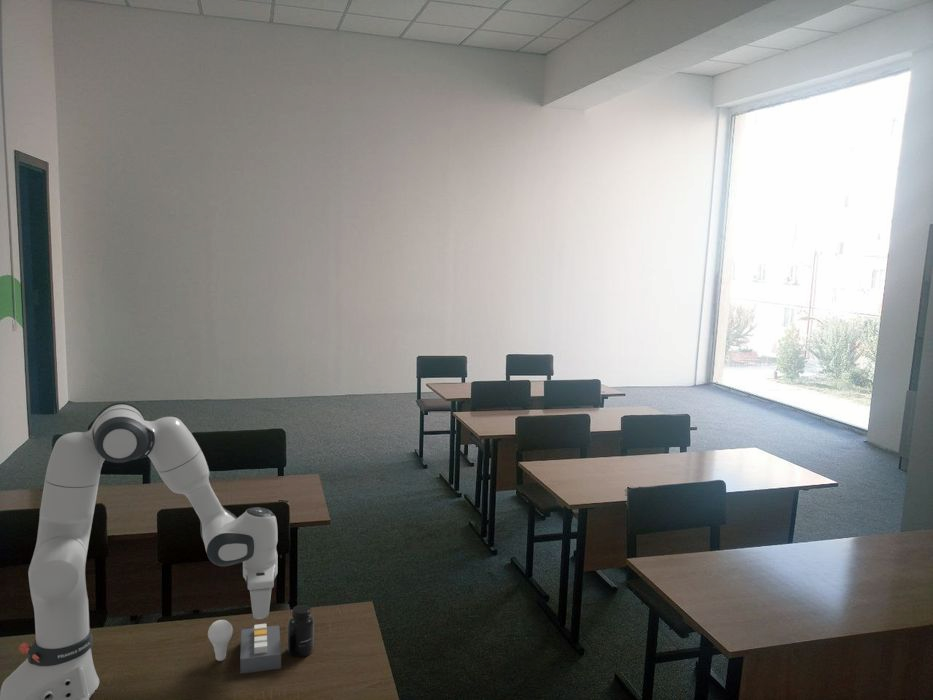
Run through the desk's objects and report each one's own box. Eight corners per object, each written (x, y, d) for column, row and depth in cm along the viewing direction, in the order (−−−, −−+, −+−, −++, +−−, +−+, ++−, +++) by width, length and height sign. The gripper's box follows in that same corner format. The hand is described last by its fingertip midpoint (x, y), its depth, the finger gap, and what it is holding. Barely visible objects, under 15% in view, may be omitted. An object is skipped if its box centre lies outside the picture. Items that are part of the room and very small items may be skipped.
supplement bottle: (306, 660, 184) (306, 617, 183) (282, 655, 186) (283, 613, 184) (318, 645, 191) (318, 605, 189) (295, 641, 193) (295, 600, 191)
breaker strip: (281, 668, 180) (281, 647, 180) (240, 673, 178) (240, 652, 177) (278, 624, 201) (278, 605, 200) (241, 628, 198) (241, 609, 197)
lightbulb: (225, 669, 179) (224, 629, 177) (203, 665, 180) (202, 625, 179) (237, 655, 185) (237, 617, 183) (216, 651, 186) (216, 613, 185)
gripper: (248, 551, 193) (248, 598, 196) (247, 587, 174) (247, 638, 176) (271, 550, 195) (271, 596, 197) (273, 584, 176) (273, 635, 178)
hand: (260, 616), depth 187 cm, fingers closed
